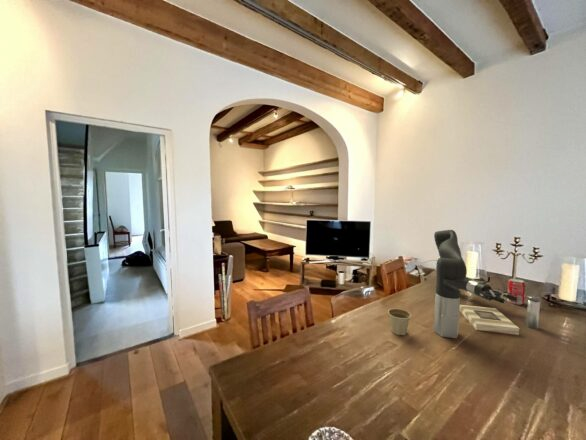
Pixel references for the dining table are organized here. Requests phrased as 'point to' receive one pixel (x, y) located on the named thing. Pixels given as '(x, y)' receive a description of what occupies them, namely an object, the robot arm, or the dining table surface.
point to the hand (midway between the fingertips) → (510, 300)
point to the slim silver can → (533, 311)
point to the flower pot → (399, 321)
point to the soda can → (516, 290)
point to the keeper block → (488, 319)
